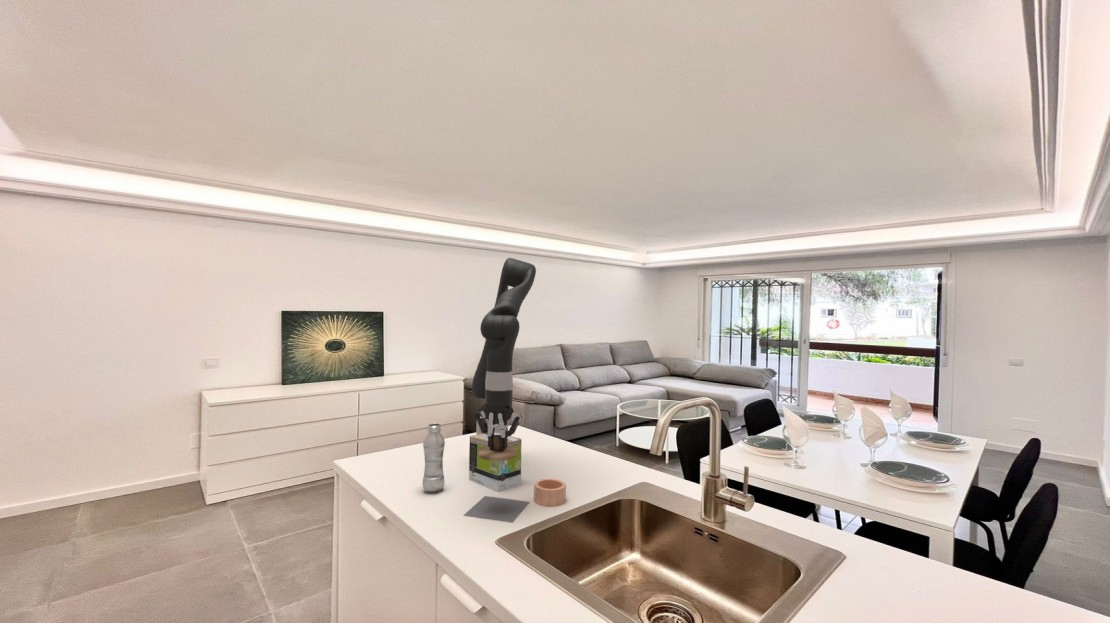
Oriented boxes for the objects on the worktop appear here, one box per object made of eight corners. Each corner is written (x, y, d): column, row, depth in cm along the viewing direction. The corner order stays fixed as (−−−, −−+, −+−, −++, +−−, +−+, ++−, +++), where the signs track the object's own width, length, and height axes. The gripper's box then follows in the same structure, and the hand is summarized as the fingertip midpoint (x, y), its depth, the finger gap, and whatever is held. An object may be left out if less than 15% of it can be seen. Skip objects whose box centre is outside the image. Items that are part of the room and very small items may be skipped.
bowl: (530, 505, 132) (530, 487, 132) (539, 493, 141) (539, 477, 141) (560, 509, 130) (561, 491, 130) (568, 497, 139) (568, 480, 139)
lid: (472, 458, 125) (472, 439, 125) (487, 447, 135) (487, 429, 135) (508, 462, 123) (508, 442, 123) (521, 451, 133) (521, 432, 133)
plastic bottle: (449, 488, 144) (450, 423, 144) (434, 496, 138) (435, 428, 138) (432, 485, 147) (433, 421, 147) (417, 492, 140) (418, 426, 141)
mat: (463, 516, 124) (463, 515, 124) (484, 497, 138) (484, 495, 138) (512, 524, 120) (512, 522, 120) (529, 503, 134) (529, 501, 134)
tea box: (522, 484, 148) (522, 438, 148) (497, 493, 141) (498, 444, 141) (491, 473, 159) (492, 429, 159) (467, 480, 151) (468, 435, 151)
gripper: (469, 387, 127) (468, 451, 127) (517, 391, 124) (516, 456, 124) (481, 383, 135) (480, 443, 135) (527, 386, 131) (526, 448, 131)
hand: (497, 449), depth 129 cm, fingers closed on lid, 2 cm apart
